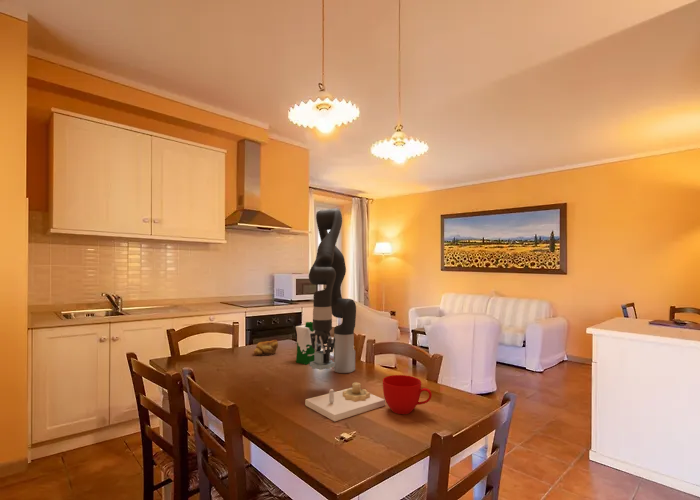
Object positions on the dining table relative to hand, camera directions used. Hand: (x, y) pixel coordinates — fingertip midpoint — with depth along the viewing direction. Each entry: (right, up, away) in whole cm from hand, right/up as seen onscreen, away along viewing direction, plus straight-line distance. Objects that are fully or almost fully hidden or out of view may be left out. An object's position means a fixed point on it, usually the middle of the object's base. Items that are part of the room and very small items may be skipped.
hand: (322, 361), depth 146 cm
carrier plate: (+9, -11, -16) cm, 21 cm away
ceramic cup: (+30, -11, -21) cm, 38 cm away
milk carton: (-11, -13, +41) cm, 45 cm away
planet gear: (0, -2, 0) cm, 2 cm away
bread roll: (-36, -13, +57) cm, 69 cm away
